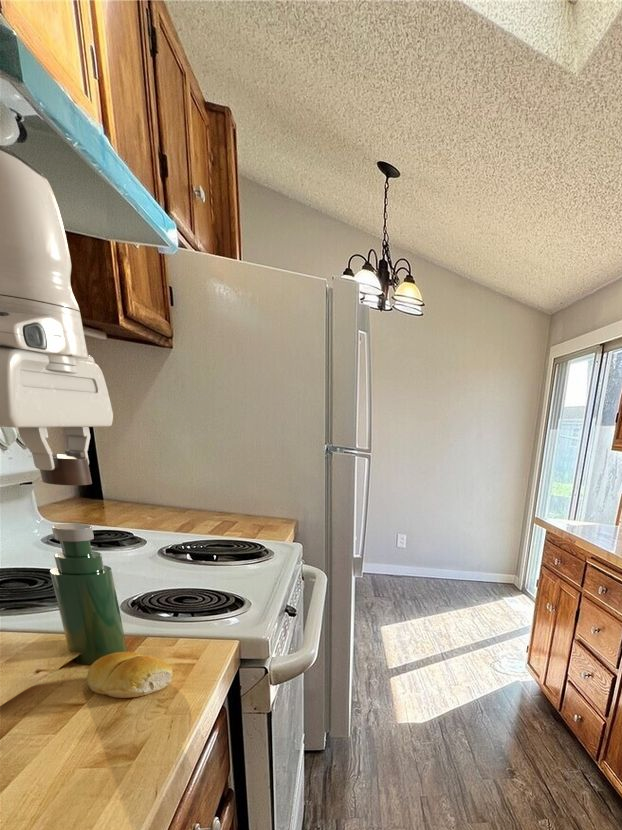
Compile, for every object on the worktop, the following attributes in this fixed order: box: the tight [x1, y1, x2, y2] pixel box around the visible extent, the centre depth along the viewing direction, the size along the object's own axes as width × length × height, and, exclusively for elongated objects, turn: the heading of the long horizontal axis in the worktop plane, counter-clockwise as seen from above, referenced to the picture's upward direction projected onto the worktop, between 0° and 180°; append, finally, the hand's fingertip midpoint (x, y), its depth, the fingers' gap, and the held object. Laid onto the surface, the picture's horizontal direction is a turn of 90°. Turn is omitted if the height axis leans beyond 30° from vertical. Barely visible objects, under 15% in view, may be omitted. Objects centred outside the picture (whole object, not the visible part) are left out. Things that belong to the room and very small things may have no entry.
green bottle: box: [49, 523, 128, 665], centre depth 73 cm, size 6×6×18 cm
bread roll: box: [86, 651, 173, 699], centre depth 69 cm, size 8×9×4 cm
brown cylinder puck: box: [39, 453, 93, 486], centre depth 67 cm, size 5×5×3 cm
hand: (63, 467), depth 67 cm, fingers closed on brown cylinder puck, 5 cm apart
